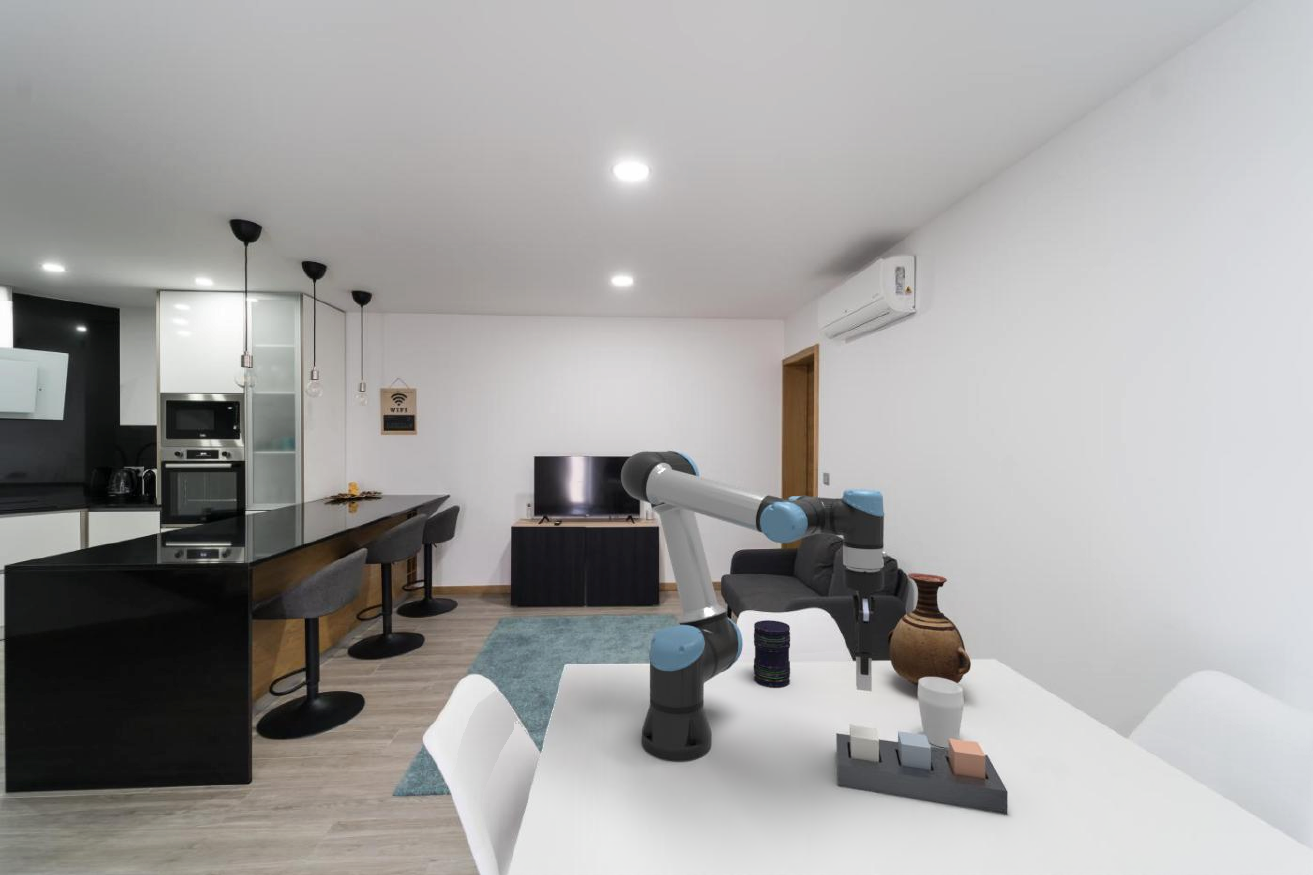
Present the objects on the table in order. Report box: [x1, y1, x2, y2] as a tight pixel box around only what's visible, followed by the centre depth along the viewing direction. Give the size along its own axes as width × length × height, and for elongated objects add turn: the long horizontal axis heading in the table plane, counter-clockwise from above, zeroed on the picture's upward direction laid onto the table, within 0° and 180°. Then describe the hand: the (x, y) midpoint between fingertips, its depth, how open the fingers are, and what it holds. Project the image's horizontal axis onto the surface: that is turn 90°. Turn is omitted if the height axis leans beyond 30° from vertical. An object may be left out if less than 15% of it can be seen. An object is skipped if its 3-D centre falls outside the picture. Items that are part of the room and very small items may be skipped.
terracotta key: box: [948, 738, 986, 779], centre depth 103 cm, size 5×5×5 cm
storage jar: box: [753, 619, 791, 689], centre depth 152 cm, size 10×10×15 cm
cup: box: [917, 677, 965, 749], centre depth 121 cm, size 9×9×12 cm
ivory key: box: [849, 724, 879, 762], centre depth 108 cm, size 5×5×5 cm
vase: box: [886, 572, 972, 687], centre depth 146 cm, size 21×18×30 cm
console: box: [835, 733, 1009, 815], centre depth 106 cm, size 28×12×4 cm, turn 73°
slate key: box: [897, 730, 931, 770], centre depth 106 cm, size 5×5×5 cm
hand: (863, 688), depth 109 cm, fingers closed
